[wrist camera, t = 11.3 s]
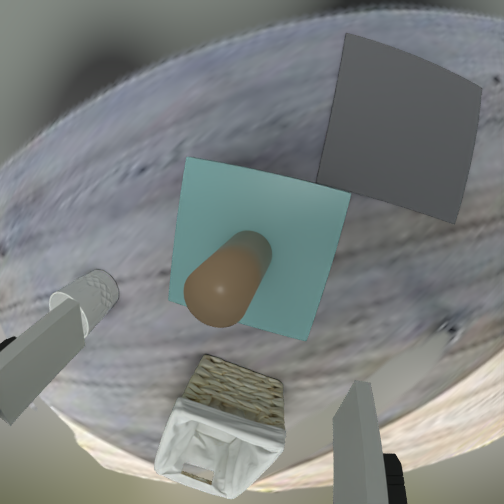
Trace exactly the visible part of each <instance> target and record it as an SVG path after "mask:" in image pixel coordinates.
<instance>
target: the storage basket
mask: <svg viewBox="0 0 504 504" xmlns="http://www.w3.org/2000/svg"><path fill="white" fill-rule="evenodd" d="M210 359H211V360H210ZM282 393H283V384H282V383H281V382H279V381H278V380H276V379H273V378H270V377H266V376H264V375H261V374H258V373H255V372H252V371H251V370H248V369H245V368H242V367H239V366H237V365H235V364H232V363H229V362H225V361H223V360H222V359H220V358H217V357H213V356H210V355H204V356H203V358H202V359H201V360H200V363H199V365H198V367H197V368H196V370H195V372H194V375H193V376H192V377H191V378H190V381H189V384H188V385H187V388H186V389H185V392H184V394H183V396H182V397H179V398H178V399H177V400H176V403H175V405H174V407H173V410H172V413H171V415H170V417H169V420H168V422H167V424H166V427H165V430H164V432H163V435H162V438H161V441H160V444H159V448H158V451H157V454H156V458H155V465H154V469H155V471H156V473H157V474H158V475H162V476H164V477H166V478H168V479H171V480H173V481H176V482H178V483H181V484H183V485H186V486H189V487H191V488H195V489H198V490H200V491H203V492H207V493H210V494H213V495H218V496H221V497H225V498H228V499H234V498H236V497H237V496H238V495H240V494H241V493H242V492H244V491H245V490H246V489H247V488H248V487H249V486H250V485H251V484H253V483H254V482H255V480H257V479H258V478H259V477H260V476H261V474H263V472H265V471H266V470H267V468H269V467H270V466H271V464H273V462H274V461H275V460H276V459H277V458H278V457H279V456H280V454H281V453H282V451H283V450H284V446H285V438H286V431H285V426H284V423H285V422H284V408H283V407H284V399H283V394H282ZM184 463H188V464H191V465H195V466H198V467H201V468H204V469H208V470H211V471H213V472H214V476H213V479H212V481H209V480H206V479H204V478H200V477H198V476H196V475H195V476H194V475H193V474H190V473H187V472H184V471H182V469H183V465H184Z"/></svg>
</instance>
